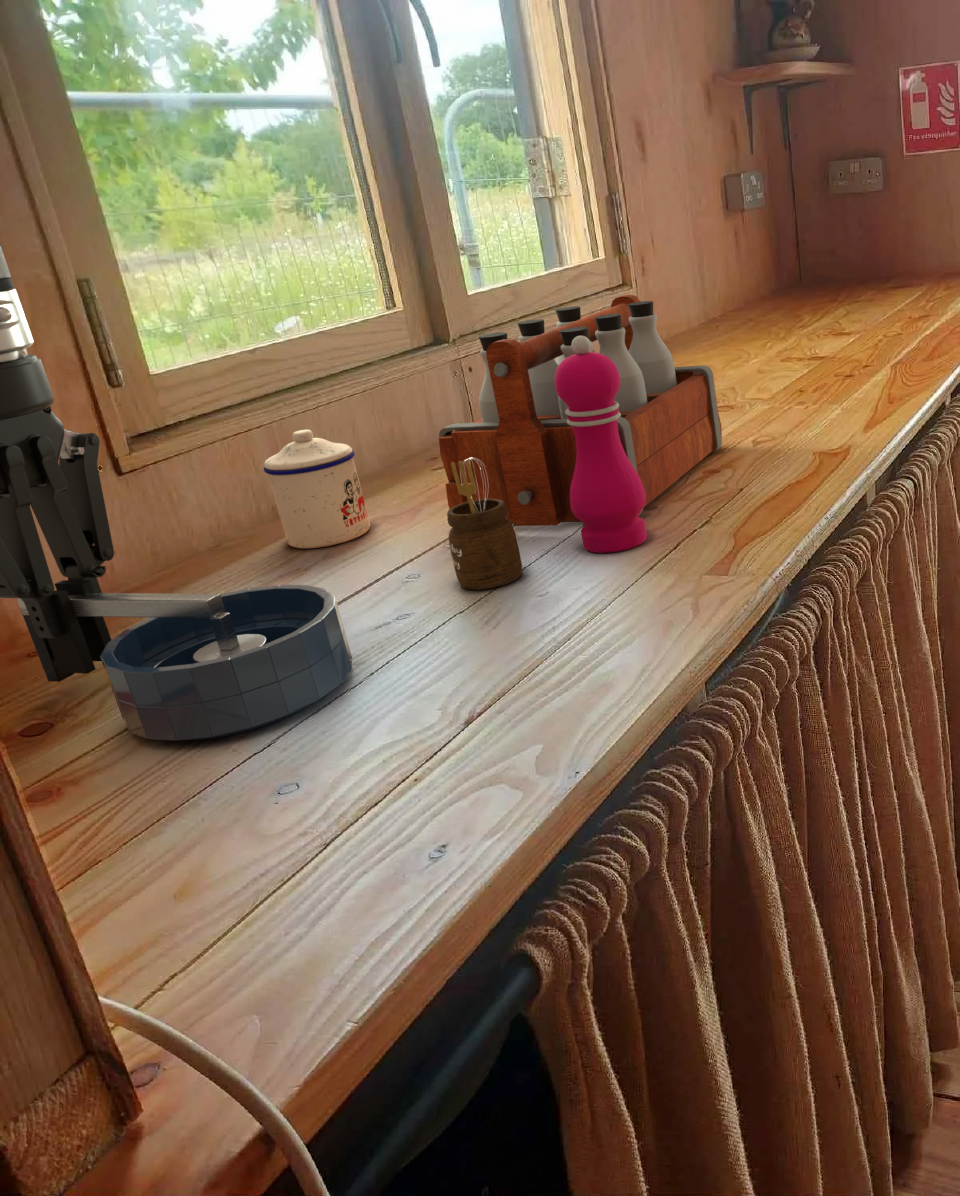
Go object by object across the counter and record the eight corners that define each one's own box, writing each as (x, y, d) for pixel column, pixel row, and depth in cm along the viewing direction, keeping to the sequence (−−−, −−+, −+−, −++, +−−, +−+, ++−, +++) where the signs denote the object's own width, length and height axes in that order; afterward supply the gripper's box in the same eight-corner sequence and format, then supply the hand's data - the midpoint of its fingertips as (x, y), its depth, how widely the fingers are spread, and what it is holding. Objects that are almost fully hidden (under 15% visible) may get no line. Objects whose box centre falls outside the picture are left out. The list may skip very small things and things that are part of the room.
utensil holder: (525, 564, 106) (500, 440, 102) (521, 586, 101) (494, 456, 96) (462, 573, 106) (433, 449, 101) (454, 596, 100) (424, 466, 96)
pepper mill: (630, 556, 105) (594, 341, 98) (564, 554, 108) (524, 345, 101) (664, 530, 112) (633, 327, 104) (601, 529, 114) (566, 330, 107)
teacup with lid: (367, 541, 119) (339, 433, 115) (277, 555, 117) (245, 447, 113) (381, 510, 130) (356, 411, 126) (299, 523, 128) (271, 423, 124)
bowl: (77, 745, 79) (48, 668, 77) (234, 651, 93) (213, 584, 91) (259, 756, 75) (233, 675, 73) (395, 655, 89) (377, 585, 86)
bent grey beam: (291, 670, 85) (266, 584, 82) (245, 700, 80) (216, 610, 78) (81, 664, 91) (51, 583, 88) (27, 692, 86) (-6, 608, 84)
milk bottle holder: (439, 535, 118) (396, 350, 111) (581, 447, 149) (555, 298, 142) (624, 533, 112) (591, 338, 105) (732, 442, 143) (712, 286, 136)
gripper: (-85, 379, 71) (46, 710, 80) (102, 338, 84) (197, 627, 92) (-170, 385, 73) (-33, 707, 82) (25, 344, 86) (125, 626, 95)
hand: (89, 664), depth 87 cm, fingers closed on bent grey beam, 1 cm apart
